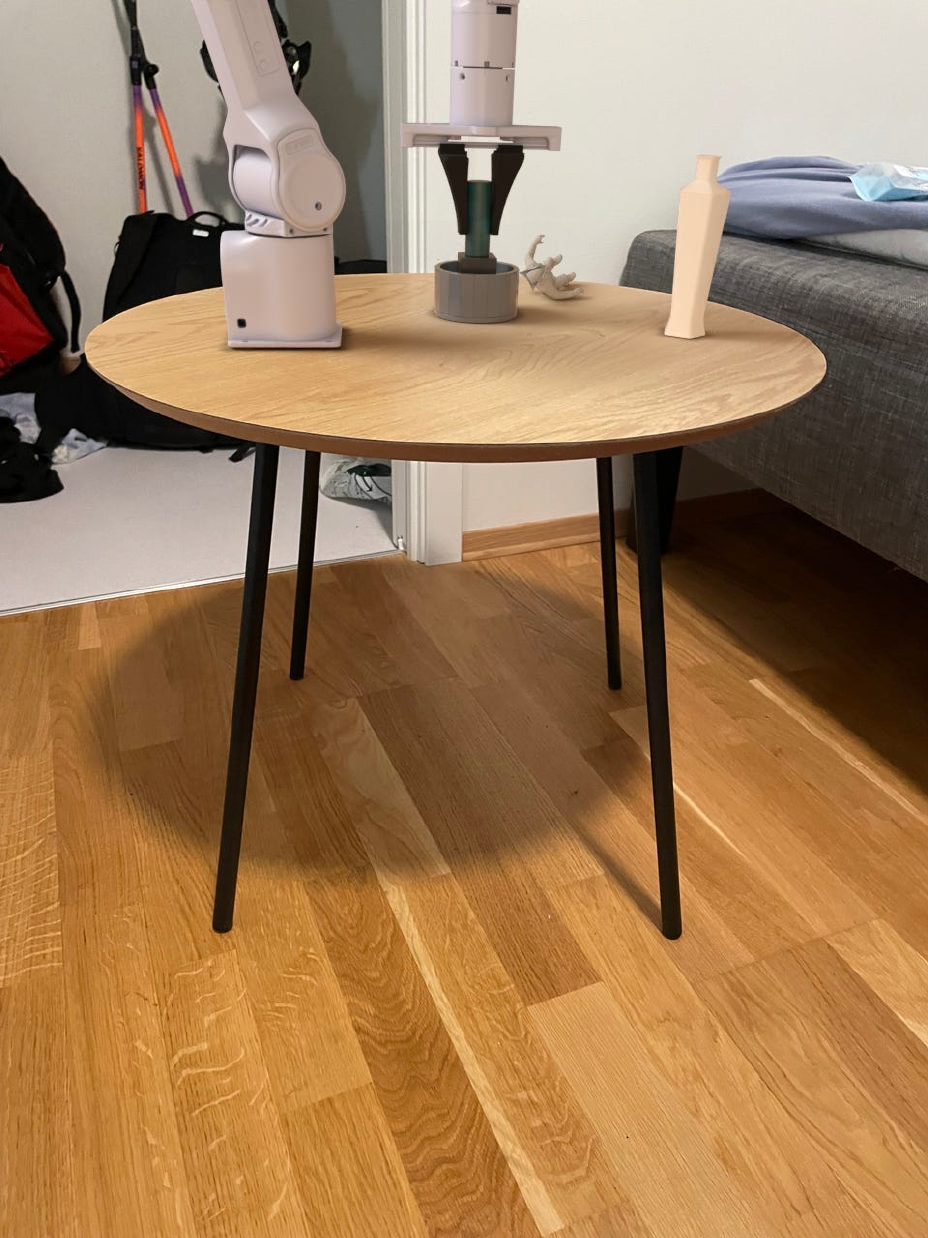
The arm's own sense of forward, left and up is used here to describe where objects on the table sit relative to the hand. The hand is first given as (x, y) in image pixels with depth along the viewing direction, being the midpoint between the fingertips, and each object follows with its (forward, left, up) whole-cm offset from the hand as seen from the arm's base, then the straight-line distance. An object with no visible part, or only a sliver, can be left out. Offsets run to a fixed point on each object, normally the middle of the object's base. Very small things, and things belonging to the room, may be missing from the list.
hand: (477, 233), depth 89 cm
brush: (0, 0, -4) cm, 4 cm away
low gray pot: (0, 0, -7) cm, 7 cm away
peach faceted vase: (+19, -8, -8) cm, 22 cm away
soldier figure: (+9, +10, -8) cm, 15 cm away
